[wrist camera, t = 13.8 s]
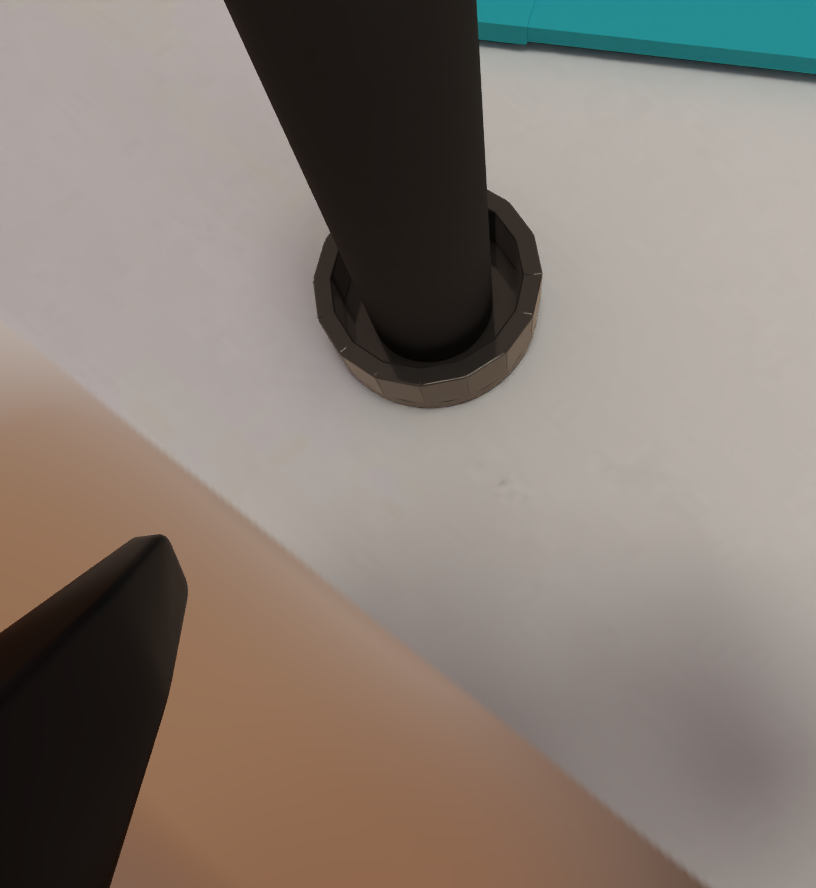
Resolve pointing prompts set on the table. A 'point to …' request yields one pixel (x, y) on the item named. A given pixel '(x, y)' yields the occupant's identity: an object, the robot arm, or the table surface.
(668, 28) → the floppy disk
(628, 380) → the table surface
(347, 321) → the socket pad
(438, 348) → the post
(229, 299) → the table surface
